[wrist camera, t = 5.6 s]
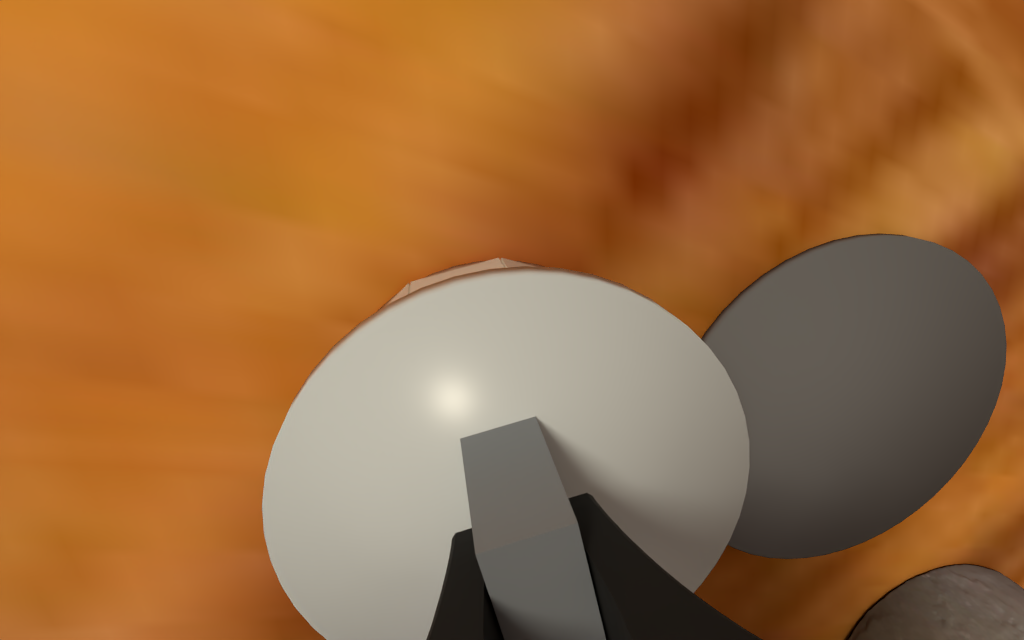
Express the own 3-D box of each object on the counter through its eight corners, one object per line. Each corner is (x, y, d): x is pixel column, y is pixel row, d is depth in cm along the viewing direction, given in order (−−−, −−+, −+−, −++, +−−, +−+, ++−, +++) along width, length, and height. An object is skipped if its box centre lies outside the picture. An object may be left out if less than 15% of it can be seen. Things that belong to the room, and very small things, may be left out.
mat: (980, 496, 23) (989, 502, 23) (689, 590, 22) (693, 598, 22) (1013, 189, 18) (1025, 190, 18) (643, 294, 17) (648, 298, 17)
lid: (748, 587, 17) (854, 737, 13) (366, 712, 16) (348, 914, 12) (711, 205, 12) (854, 247, 8) (181, 351, 12) (53, 476, 8)
